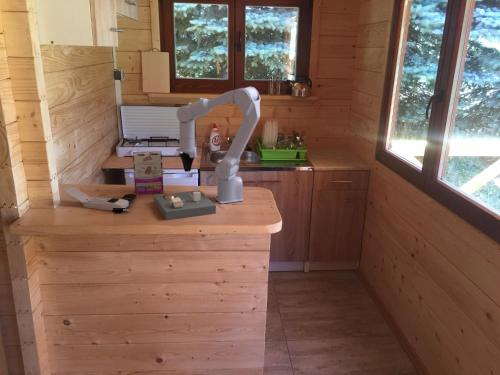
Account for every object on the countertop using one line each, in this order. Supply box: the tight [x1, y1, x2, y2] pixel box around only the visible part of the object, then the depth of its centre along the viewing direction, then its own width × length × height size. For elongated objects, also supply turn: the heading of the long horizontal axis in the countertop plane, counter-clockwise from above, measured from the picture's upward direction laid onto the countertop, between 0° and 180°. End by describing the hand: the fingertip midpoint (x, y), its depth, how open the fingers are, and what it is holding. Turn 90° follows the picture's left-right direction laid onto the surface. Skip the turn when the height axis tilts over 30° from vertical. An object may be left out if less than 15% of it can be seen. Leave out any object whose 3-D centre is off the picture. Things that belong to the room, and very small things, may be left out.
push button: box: [165, 193, 175, 200], centre depth 156 cm, size 4×4×3 cm
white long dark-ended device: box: [63, 185, 130, 212], centre depth 152 cm, size 6×6×25 cm
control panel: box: [153, 189, 217, 221], centre depth 153 cm, size 18×18×5 cm
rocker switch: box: [171, 197, 183, 208], centre depth 147 cm, size 3×5×1 cm, turn 25°
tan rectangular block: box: [193, 191, 201, 201], centre depth 152 cm, size 2×2×3 cm
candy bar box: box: [132, 150, 164, 195], centre depth 167 cm, size 11×5×16 cm, turn 106°
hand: (187, 171), depth 166 cm, fingers closed
